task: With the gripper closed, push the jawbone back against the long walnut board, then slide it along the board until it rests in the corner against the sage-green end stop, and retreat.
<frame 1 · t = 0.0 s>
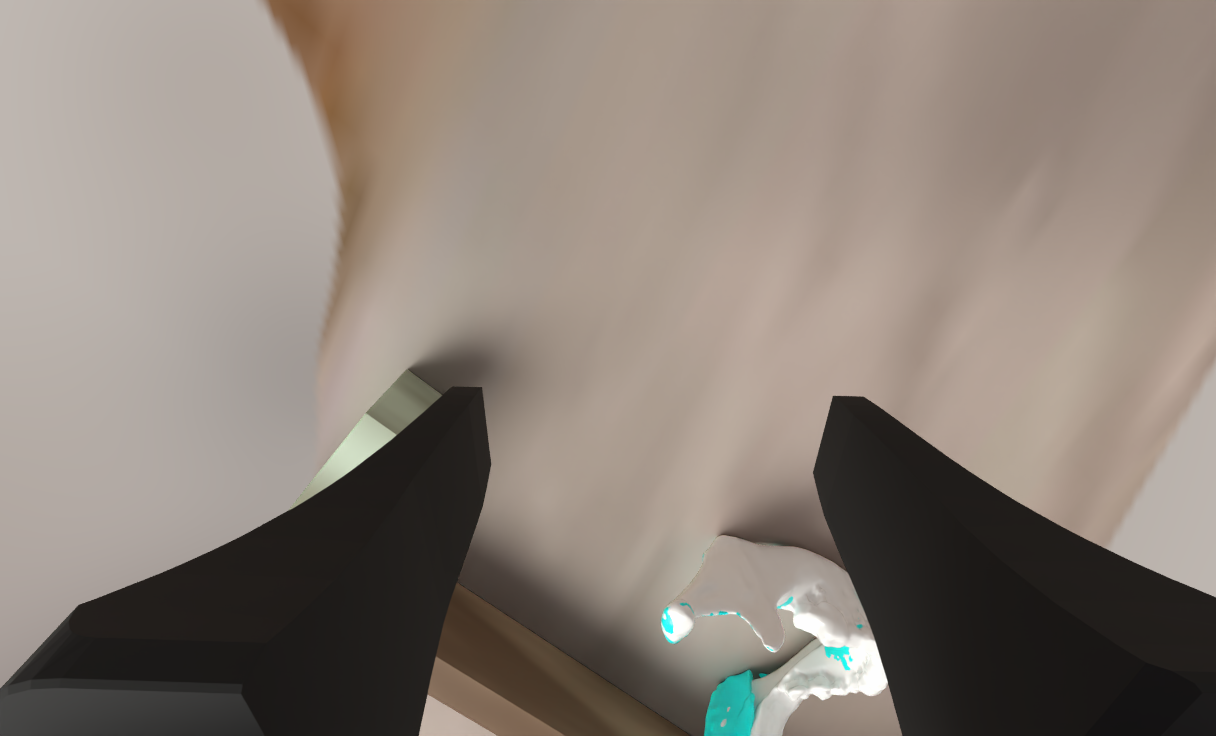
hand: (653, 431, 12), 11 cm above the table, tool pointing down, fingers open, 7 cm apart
cleat board: (568, 675, 29), on the table
jawbone: (760, 603, 27), on the table
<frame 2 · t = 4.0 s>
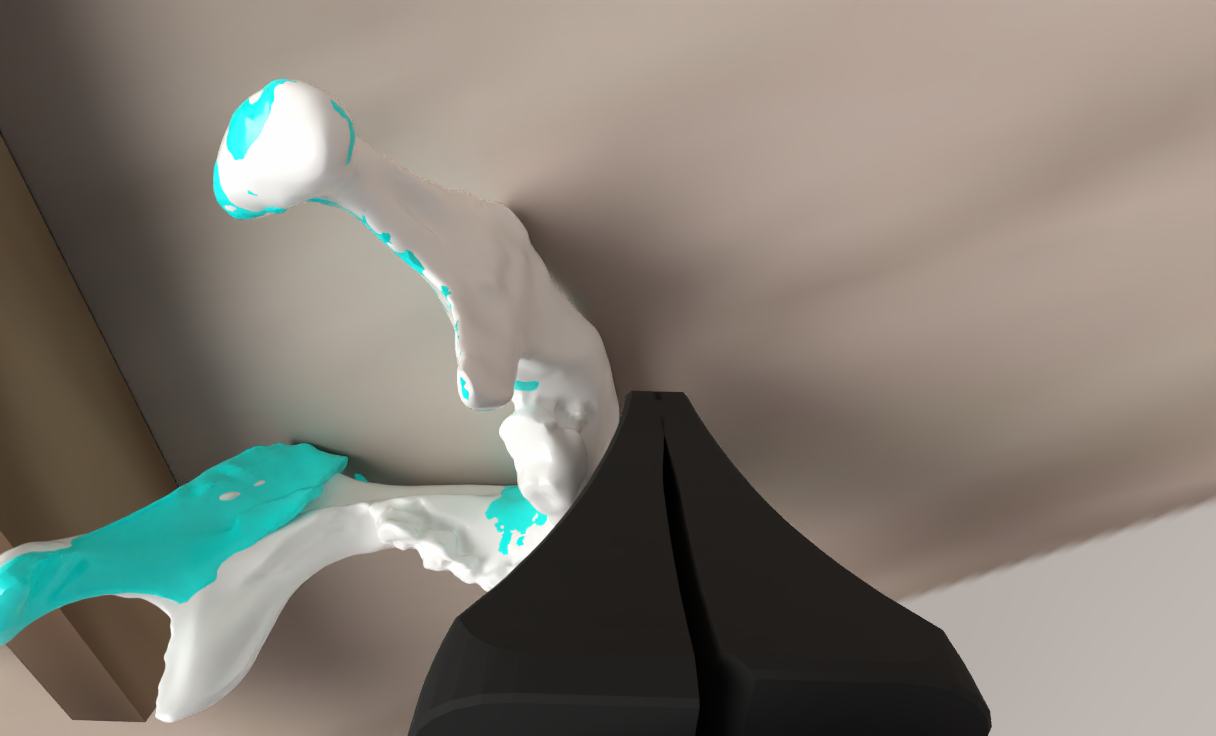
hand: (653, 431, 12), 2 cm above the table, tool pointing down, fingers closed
jawbone: (455, 378, 15), on the table, touching gripper
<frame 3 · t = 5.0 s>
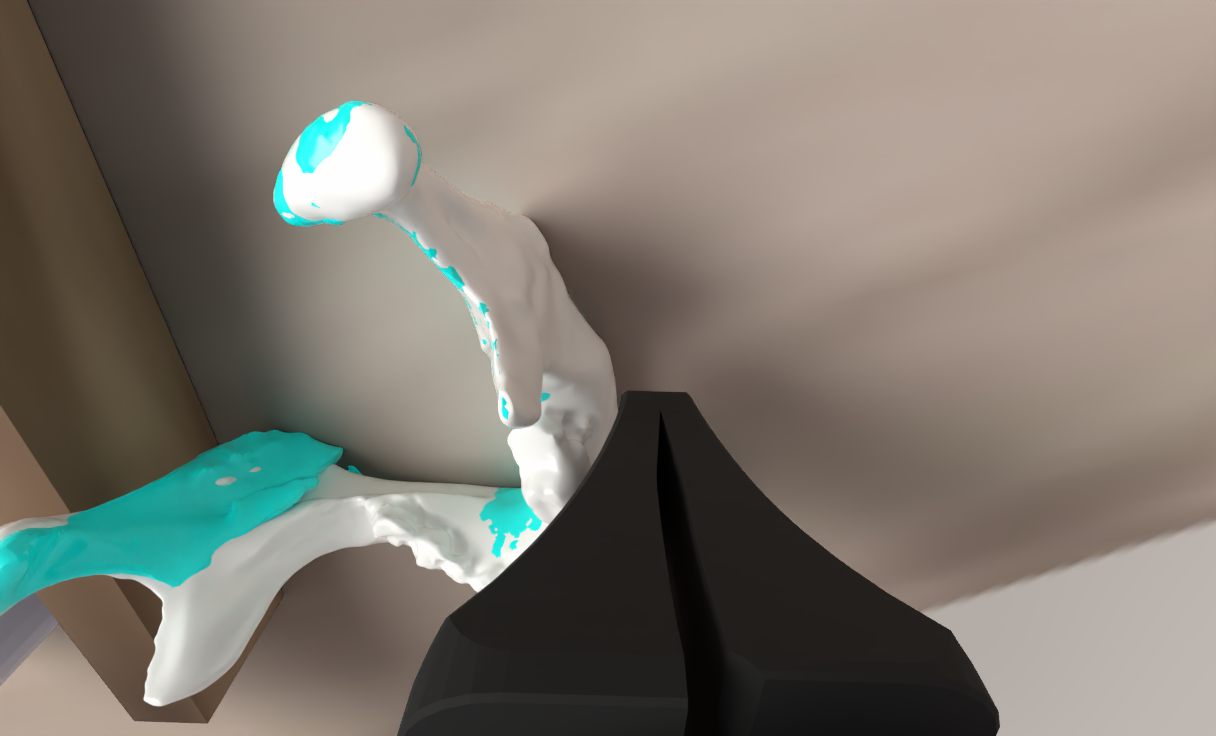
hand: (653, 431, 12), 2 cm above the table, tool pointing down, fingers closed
cleat board: (64, 195, 12), on the table
jawbone: (460, 379, 15), on the table
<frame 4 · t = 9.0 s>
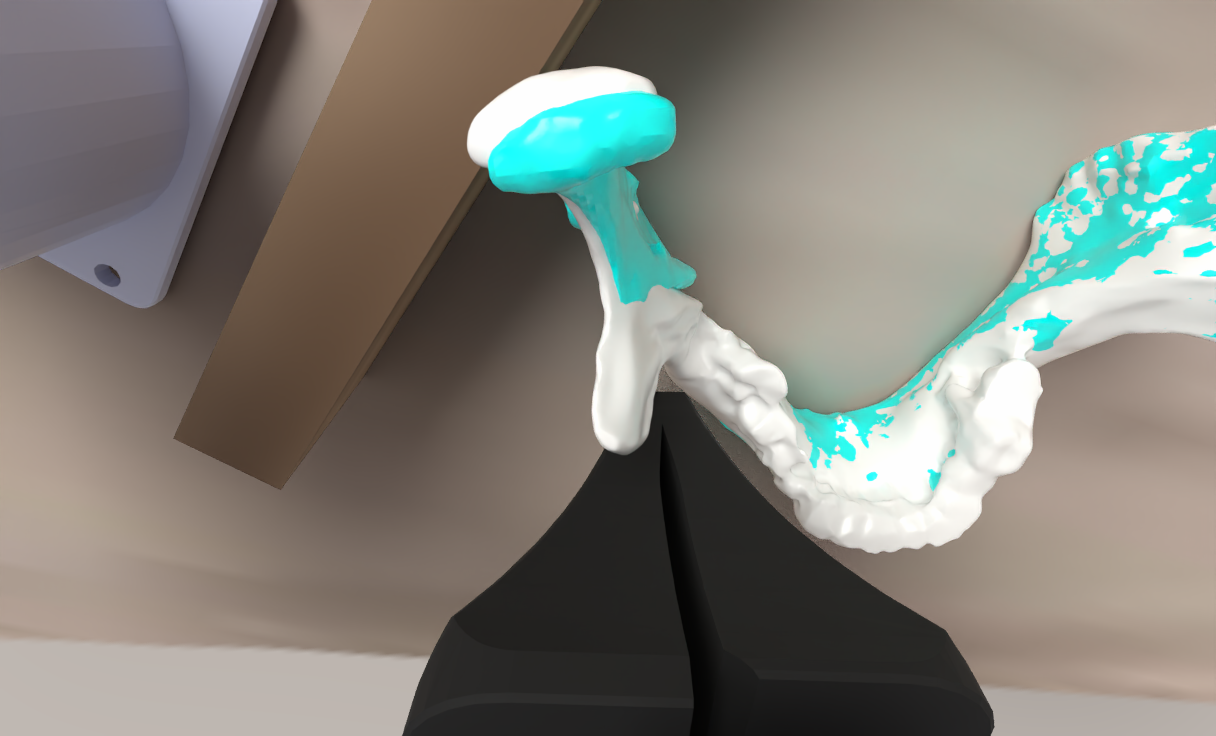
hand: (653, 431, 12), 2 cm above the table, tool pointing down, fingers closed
jawbone: (837, 267, 13), on the table, touching gripper
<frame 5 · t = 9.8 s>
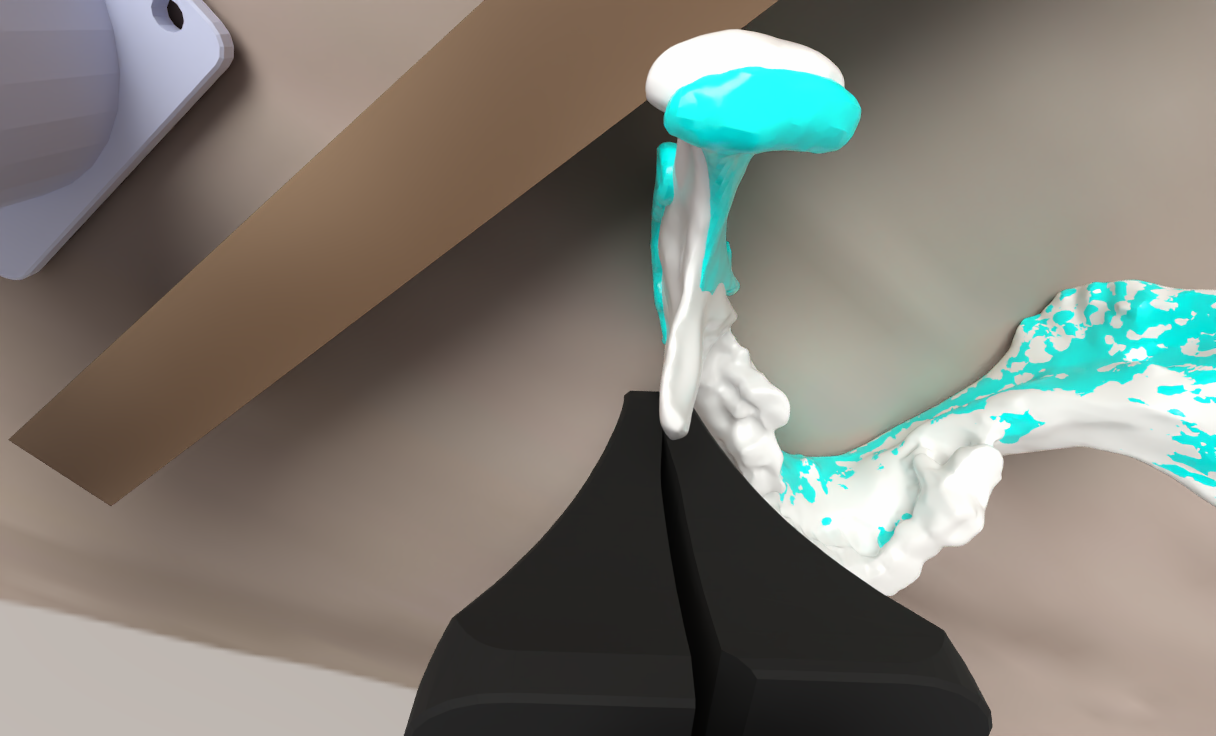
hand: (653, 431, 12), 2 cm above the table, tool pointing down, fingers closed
cleat board: (627, 8, 10), on the table
jawbone: (842, 320, 13), on the table, touching gripper
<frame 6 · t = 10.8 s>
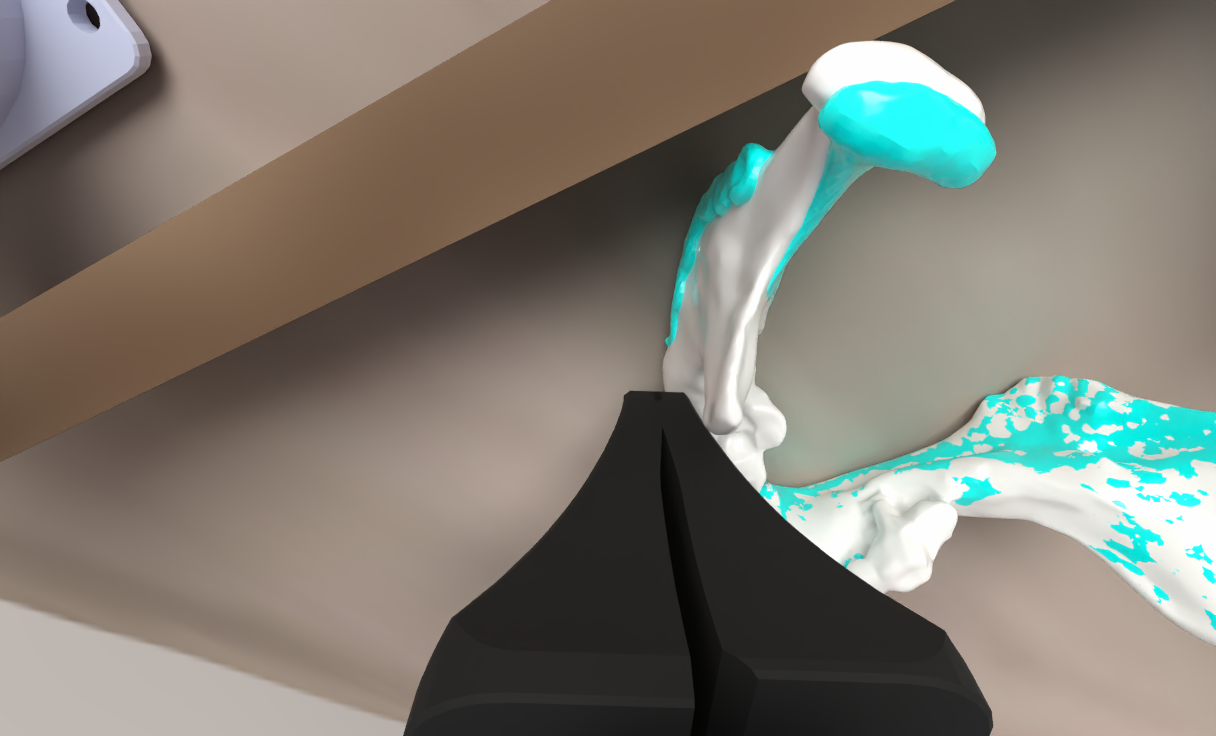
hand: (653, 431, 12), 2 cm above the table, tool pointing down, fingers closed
cleat board: (543, 96, 11), on the table
jawbone: (832, 360, 14), on the table, touching gripper
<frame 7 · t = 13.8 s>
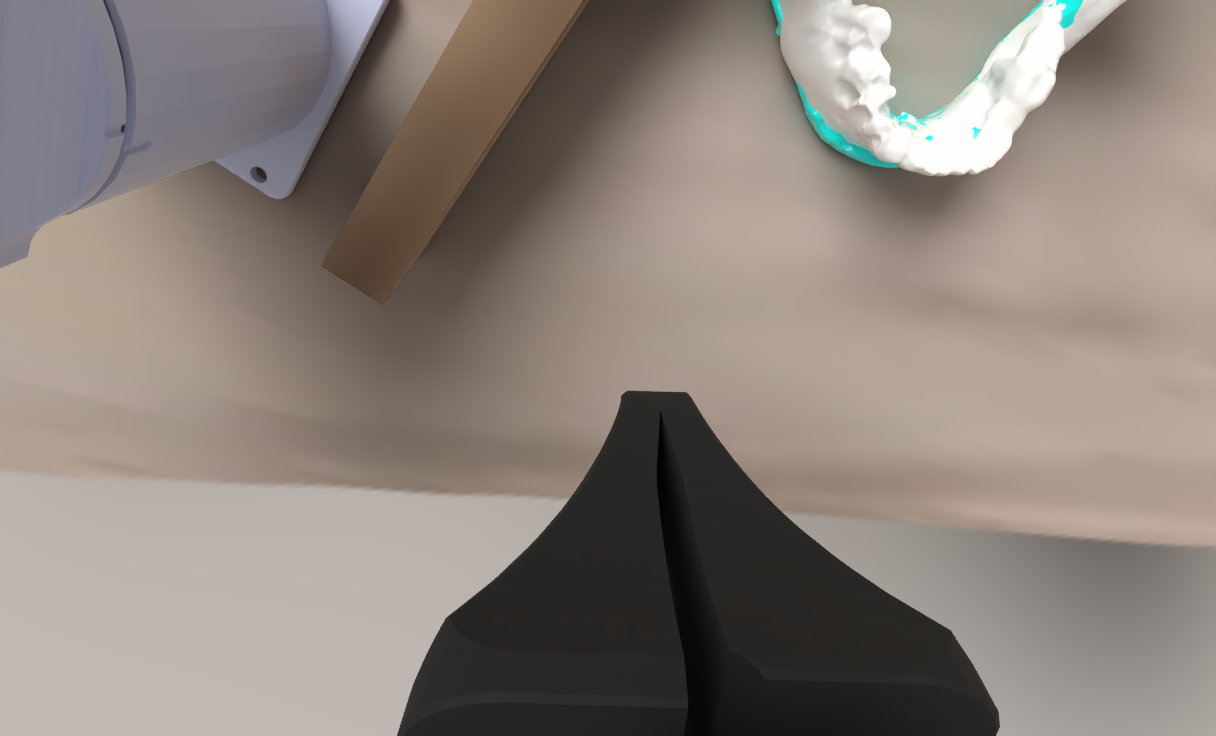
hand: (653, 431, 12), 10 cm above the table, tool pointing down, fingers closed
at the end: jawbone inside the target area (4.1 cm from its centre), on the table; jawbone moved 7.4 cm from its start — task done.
